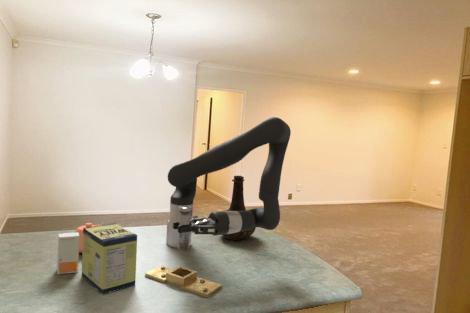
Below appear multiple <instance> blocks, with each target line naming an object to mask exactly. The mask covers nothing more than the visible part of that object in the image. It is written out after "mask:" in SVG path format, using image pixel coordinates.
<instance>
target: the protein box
mask: <svg viewBox="0 0 470 313" xmlns="http://www.w3.org/2000/svg"><path fill="white" fill-rule="evenodd" d="M99 225H100V226H97V225H96V226H93V227H86V228H83V252H82V253H81V254H82V256H81V258H82V261H81V277H82V278H83V279H84V280H85V281H86V282H88V284H89V285H91V287H93V288H94V289H95V290H97V291H98V292H99V293H100V294H101V295H105V294H109V293H111V292H115V291H119V290H123V289H126V288H130V287H133V286H136V277H137V276H136V274H137V250H138V249H137V247H138V235H137V234H136V233H134V232H132V231H130V230H128V229H126V228H124V227H123V226H120V225H119V224H117V223H115V222H114V223H110V224H109V223H108V224H99Z"/></svg>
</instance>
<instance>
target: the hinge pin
mask: <svg viewBox="0 0 470 313" xmlns="http://www.w3.org/2000/svg"><path fill="white" fill-rule="evenodd" d="M193 209H194V206H193V207H191V206H179V207H178V211H179V212H180V217H179V225H187V224H190V220H191V212H192V211H194V210H193ZM189 239H190V232H185V233H179V238H178V248H177V249H178V250H179V251H183V252H184V251H188V250H189V249H190V246H189Z"/></svg>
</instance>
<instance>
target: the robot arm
mask: <svg viewBox="0 0 470 313" xmlns="http://www.w3.org/2000/svg"><path fill="white" fill-rule="evenodd" d="M291 132H292V131H291V127H290V126H289V124H288V123H287V122H285V121H284V120H283V119H281V118H280V117H276V116H270V117H268V118H266V119H264V120H263V121H262V122H259V124H257V125H255V126H254V127H251V128H250V129H249V130H246V131H245V132H243V133H240V134H239V135H236V136H234V137H232V138H231V139H227V140H226V141H223V142H221V143H219V144H217V145H215V146H214V147H212V148H210V149H208V150H207V151H204V152H202V153H201V154H200V155H198V156H195V157H194V158H191V159H189V160H187V161H184V162H181V163H179V164H175V165H173V166H172V167H170V169H169V170H168V172H167V181H168V183H169V184H170V185H171V186H173V187H175V190H174V192H173V193H172V195H171V196H170V202H169V203H170V204H169V205H170V206H169V218H168V220H167V221H166V222H167V223H166V238H165V240H166V241H165V242H166V243H165V244H167V245H168V246H170V247H171V248H176V249H178V238H179V233H185V232H190V239H189V247H190V246H191V245H192V233H194V234H195V235H212V236H223V235H224V234H232V233H236V232H243V231H249V230H251V229H253V228H255V227H256V228H259V229H265V230H268V231H273V230H275V229H277V227H278V226H279V224H280V221H281V208H280V202H279V195H280V186H281V177H282V171H283V165H284V160H285V156H286V152H287V149H288V145H289V142H290V139H291ZM265 145H268V153H267V154H268V155H267V160H266V163H265V166H264V167H263V171H262V173H261V177H260V180H259V181H260V182H259V188H258V189H259V190H258V200H260V201H261V202H262V203H263V207H256V208H255V207H254V208H251V209H246V210H242V211H226V210H222V211H212V212H210V213H209V214H208V217H205V216H202V217H201V216H200V217H199V216H197V215H193V213H194V212H193V211H194V210H193V211H192V212H191V220H190V224H187V225H179V217H180V212H179V211H178V207H179V206H191V207H193V208H194V200H195V197H196V194H197V184H198V183H197V182H198V178H200V177H202V176H204V175H207V174H212V173H215V172H219V171H221V170H224V169H227V168H228V167H231V166H233V165H235V164H237V163H239V162H240V161H242V160H243V159H245V157H246V156H247V155H248V154H250V153H251V152H252V151H254V150H255V149H257V148H259V147H262V146H265Z"/></svg>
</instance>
